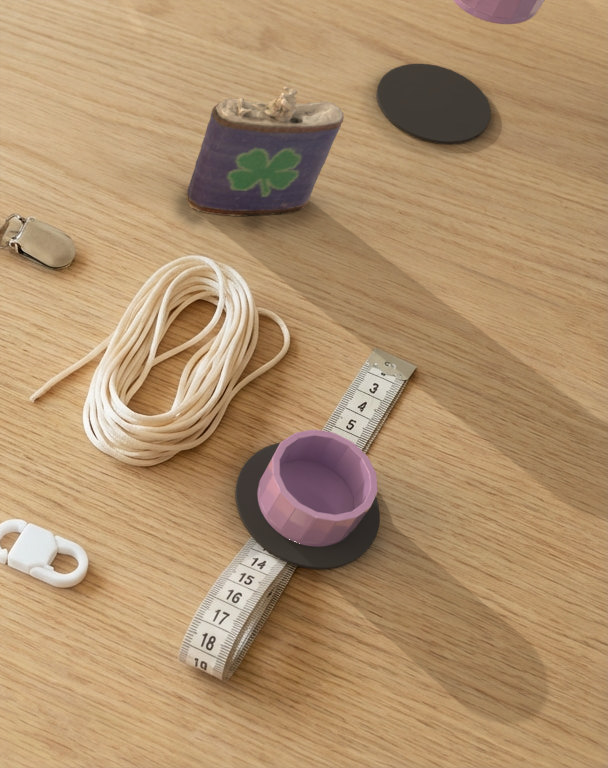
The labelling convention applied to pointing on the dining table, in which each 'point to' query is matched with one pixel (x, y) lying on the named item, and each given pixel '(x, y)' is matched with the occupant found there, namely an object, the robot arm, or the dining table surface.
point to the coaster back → (433, 103)
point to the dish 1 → (317, 488)
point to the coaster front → (286, 548)
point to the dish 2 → (501, 10)
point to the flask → (262, 155)
